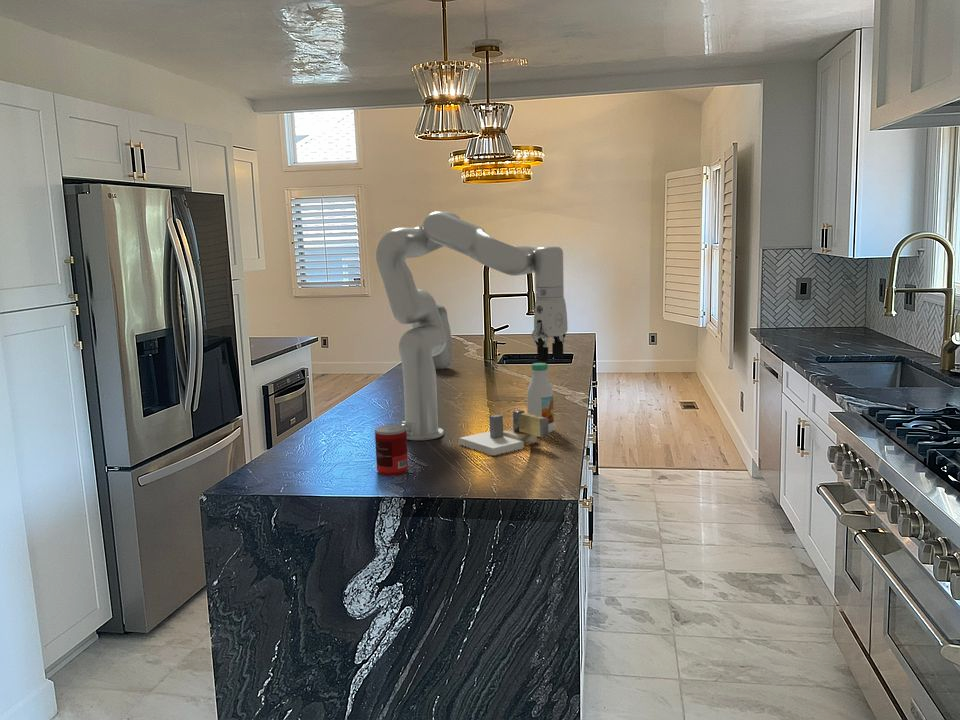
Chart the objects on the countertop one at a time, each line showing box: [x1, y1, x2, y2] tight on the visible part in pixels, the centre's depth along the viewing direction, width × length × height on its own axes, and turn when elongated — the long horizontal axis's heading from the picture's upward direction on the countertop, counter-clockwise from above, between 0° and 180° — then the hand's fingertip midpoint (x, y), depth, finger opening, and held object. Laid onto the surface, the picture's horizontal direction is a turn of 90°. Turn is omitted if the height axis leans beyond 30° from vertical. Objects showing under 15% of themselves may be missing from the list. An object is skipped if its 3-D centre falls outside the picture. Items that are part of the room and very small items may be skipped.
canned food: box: [374, 424, 409, 477], centre depth 196 cm, size 8×8×11 cm
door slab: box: [458, 414, 525, 456], centre depth 217 cm, size 10×15×8 cm
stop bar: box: [512, 409, 549, 439], centre depth 217 cm, size 13×3×5 cm, turn 37°
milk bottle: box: [526, 362, 555, 434], centre depth 231 cm, size 8×8×20 cm
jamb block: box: [503, 428, 538, 446], centre depth 221 cm, size 7×7×3 cm
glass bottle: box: [432, 304, 452, 370], centre depth 344 cm, size 10×10×28 cm
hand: (550, 359), depth 214 cm, fingers open, 6 cm apart
